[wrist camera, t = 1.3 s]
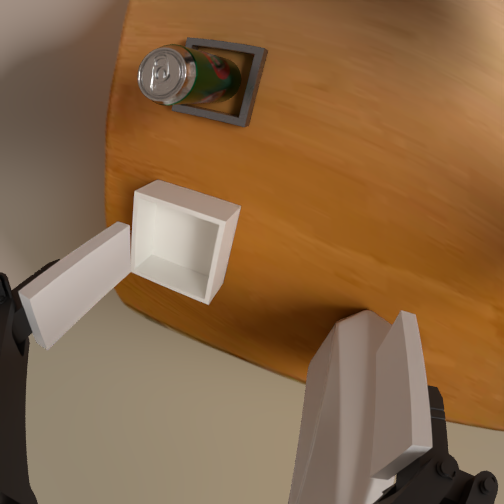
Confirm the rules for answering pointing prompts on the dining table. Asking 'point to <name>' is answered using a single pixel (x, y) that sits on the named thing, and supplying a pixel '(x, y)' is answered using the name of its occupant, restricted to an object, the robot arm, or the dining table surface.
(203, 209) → the bin
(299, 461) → the vase
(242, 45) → the socket ring
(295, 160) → the dining table surface
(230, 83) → the soda can
